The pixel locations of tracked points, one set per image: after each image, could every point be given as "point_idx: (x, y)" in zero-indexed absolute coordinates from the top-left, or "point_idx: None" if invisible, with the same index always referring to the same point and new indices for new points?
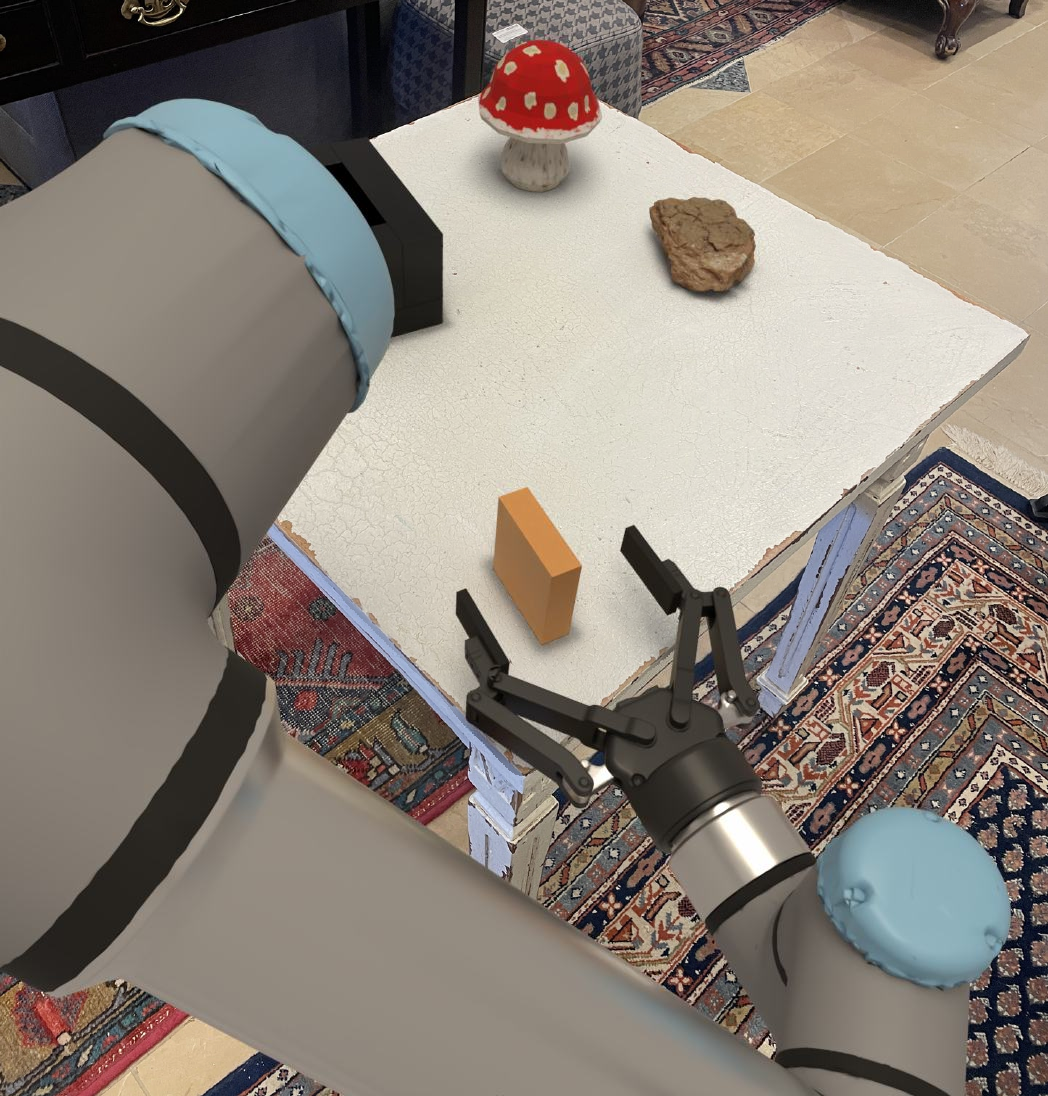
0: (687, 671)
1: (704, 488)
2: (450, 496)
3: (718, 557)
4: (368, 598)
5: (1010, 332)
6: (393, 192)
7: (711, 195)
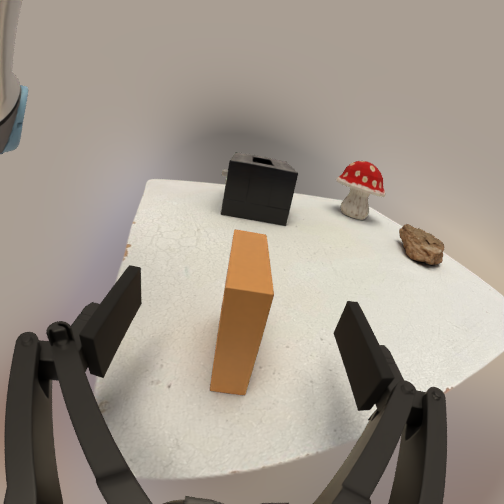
0: (358, 499)
1: (411, 337)
2: None
3: None
4: None
5: None
6: (284, 165)
7: None
